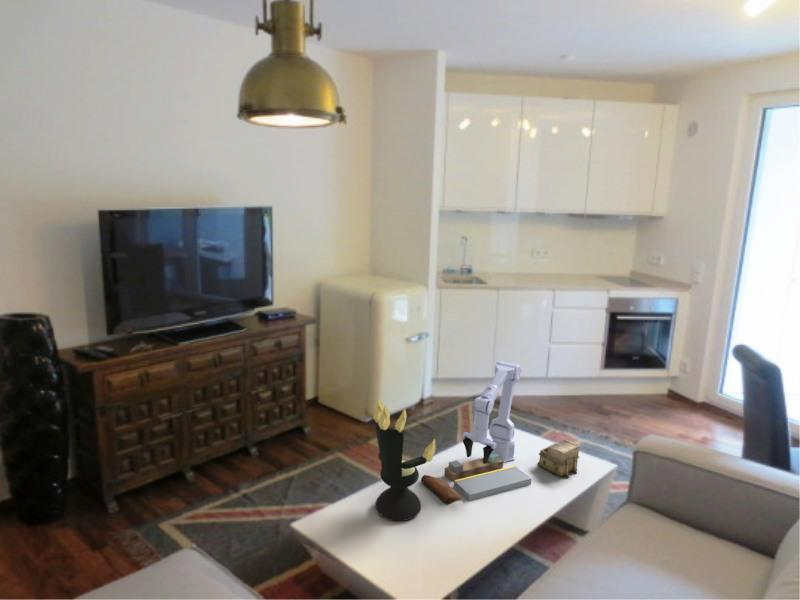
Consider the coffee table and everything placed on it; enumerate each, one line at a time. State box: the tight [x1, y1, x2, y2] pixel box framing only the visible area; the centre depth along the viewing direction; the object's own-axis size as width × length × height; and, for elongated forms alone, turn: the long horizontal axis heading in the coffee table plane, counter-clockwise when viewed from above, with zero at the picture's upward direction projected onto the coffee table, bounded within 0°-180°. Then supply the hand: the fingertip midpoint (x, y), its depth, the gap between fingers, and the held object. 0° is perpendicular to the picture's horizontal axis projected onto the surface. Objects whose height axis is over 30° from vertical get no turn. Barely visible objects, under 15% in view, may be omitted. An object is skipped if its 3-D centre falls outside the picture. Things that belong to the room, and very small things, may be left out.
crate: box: [447, 459, 463, 473], centre depth 227 cm, size 4×4×2 cm
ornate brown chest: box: [537, 439, 580, 479], centre depth 237 cm, size 15×14×11 cm
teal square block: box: [488, 451, 499, 463], centre depth 236 cm, size 4×4×2 cm
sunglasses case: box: [420, 474, 463, 505], centre depth 217 cm, size 18×7×7 cm
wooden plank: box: [443, 457, 504, 483], centre depth 232 cm, size 26×6×4 cm, turn 119°
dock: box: [453, 465, 532, 502], centre depth 222 cm, size 30×11×3 cm, turn 117°
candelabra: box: [373, 397, 436, 522], centre depth 197 cm, size 19×22×45 cm
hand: (476, 459), depth 221 cm, fingers open, 7 cm apart
